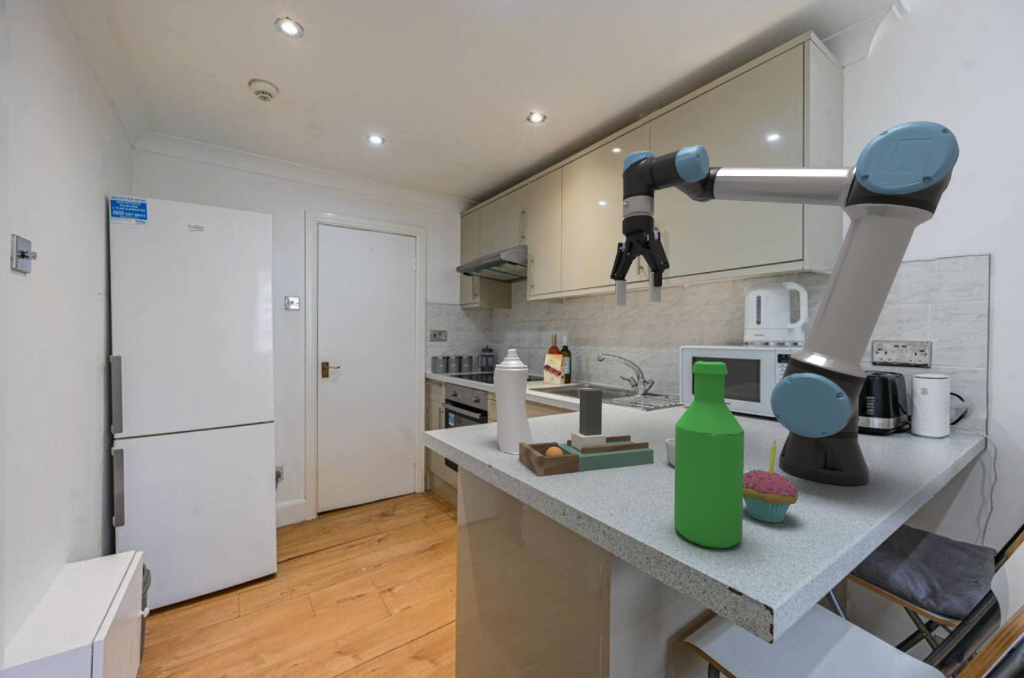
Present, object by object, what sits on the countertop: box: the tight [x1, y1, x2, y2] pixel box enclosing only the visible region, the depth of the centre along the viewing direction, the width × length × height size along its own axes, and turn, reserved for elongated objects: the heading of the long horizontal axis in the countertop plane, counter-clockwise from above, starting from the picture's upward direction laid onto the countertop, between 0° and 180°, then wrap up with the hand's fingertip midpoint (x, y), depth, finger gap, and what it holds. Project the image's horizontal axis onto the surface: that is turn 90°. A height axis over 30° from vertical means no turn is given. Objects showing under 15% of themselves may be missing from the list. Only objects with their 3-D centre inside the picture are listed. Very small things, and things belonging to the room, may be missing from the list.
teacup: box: [665, 437, 675, 468], centre depth 90 cm, size 10×8×5 cm
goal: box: [518, 441, 580, 477], centre depth 90 cm, size 11×9×4 cm
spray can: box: [493, 348, 534, 455], centre depth 104 cm, size 12×11×25 cm
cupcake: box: [743, 440, 799, 524], centre depth 65 cm, size 9×8×12 cm
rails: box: [566, 434, 650, 454], centre depth 95 cm, size 8×17×1 cm, turn 110°
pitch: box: [558, 440, 654, 472], centre depth 94 cm, size 11×19×3 cm, turn 110°
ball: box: [545, 447, 563, 456], centre depth 90 cm, size 4×4×4 cm
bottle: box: [673, 360, 745, 549], centre depth 59 cm, size 9×9×25 cm
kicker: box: [570, 388, 607, 450], centre depth 93 cm, size 5×6×13 cm
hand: (636, 303), depth 102 cm, fingers open, 13 cm apart
